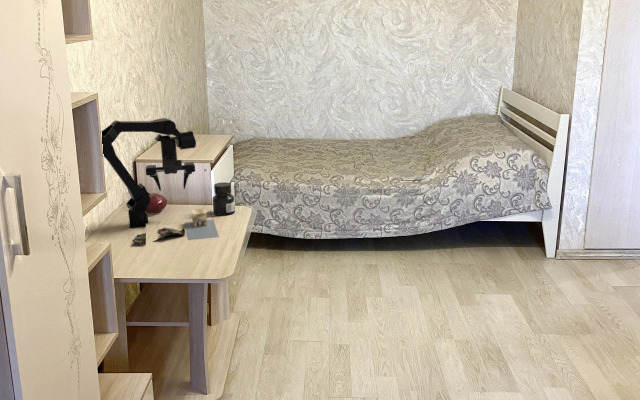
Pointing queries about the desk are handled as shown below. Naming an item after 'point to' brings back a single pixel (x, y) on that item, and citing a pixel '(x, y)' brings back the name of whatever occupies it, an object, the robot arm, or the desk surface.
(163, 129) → the robot arm
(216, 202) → the ink bottle
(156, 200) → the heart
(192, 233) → the pin plate
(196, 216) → the block
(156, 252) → the desk surface
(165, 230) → the decorative rock
